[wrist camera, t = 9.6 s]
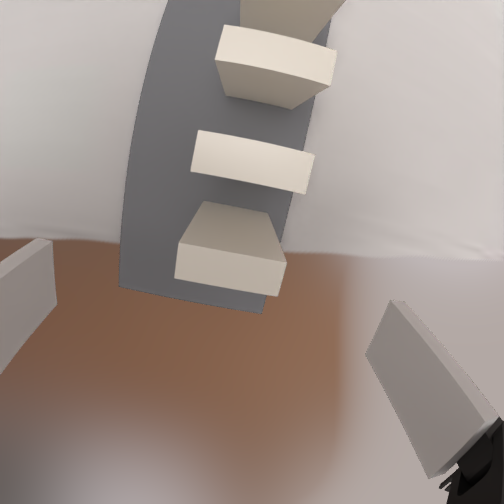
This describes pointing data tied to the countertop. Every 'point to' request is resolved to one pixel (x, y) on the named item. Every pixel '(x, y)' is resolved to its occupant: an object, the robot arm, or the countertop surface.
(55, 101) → the countertop surface
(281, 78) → the domino
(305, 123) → the mat
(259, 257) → the domino
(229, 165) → the domino
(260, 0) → the domino
